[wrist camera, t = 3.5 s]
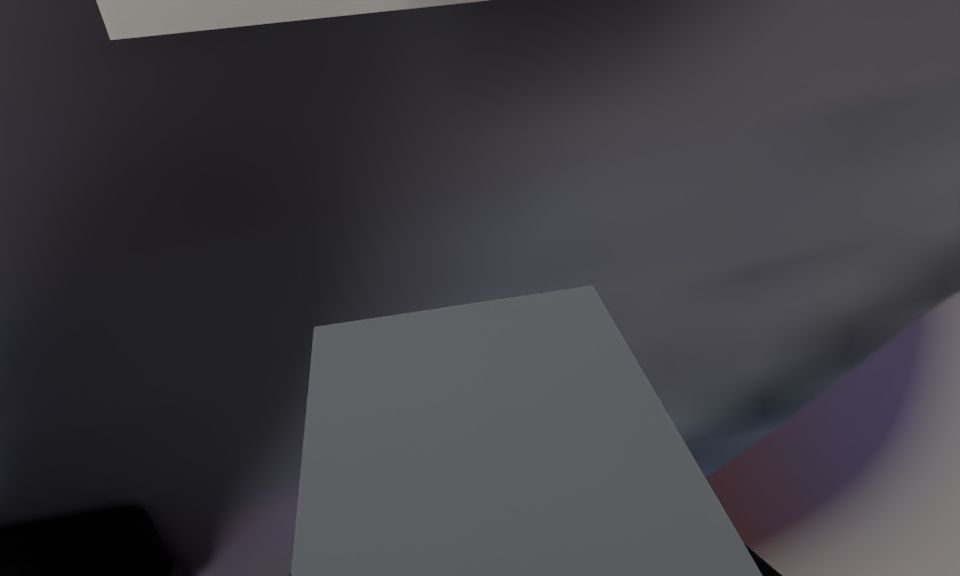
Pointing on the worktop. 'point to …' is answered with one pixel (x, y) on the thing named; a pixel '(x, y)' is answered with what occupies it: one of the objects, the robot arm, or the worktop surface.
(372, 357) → the box
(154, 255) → the worktop surface
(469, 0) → the power strip
